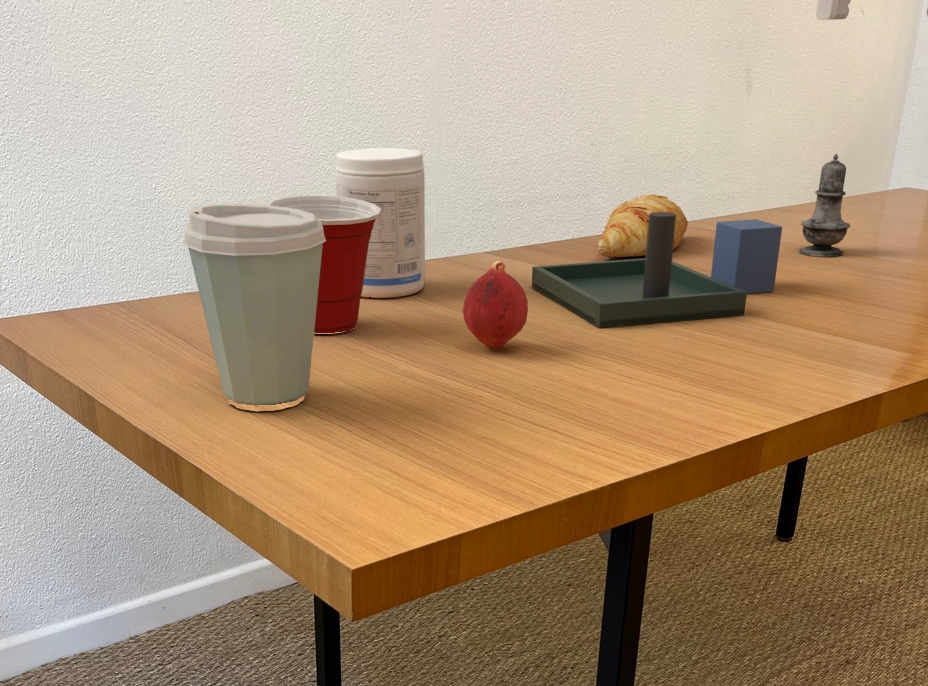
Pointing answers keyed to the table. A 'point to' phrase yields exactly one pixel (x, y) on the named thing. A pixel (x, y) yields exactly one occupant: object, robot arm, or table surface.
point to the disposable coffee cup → (258, 296)
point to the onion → (495, 307)
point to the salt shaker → (827, 213)
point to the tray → (639, 286)
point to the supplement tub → (389, 216)
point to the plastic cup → (338, 256)
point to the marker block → (746, 254)
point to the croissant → (637, 226)
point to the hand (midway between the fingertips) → (887, 18)
